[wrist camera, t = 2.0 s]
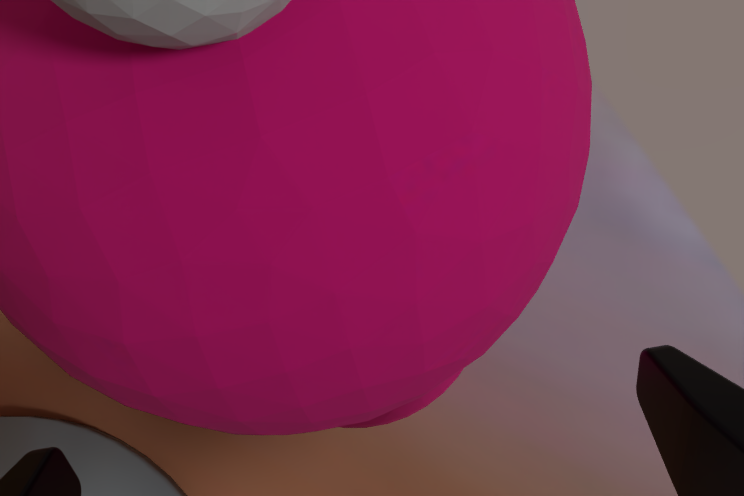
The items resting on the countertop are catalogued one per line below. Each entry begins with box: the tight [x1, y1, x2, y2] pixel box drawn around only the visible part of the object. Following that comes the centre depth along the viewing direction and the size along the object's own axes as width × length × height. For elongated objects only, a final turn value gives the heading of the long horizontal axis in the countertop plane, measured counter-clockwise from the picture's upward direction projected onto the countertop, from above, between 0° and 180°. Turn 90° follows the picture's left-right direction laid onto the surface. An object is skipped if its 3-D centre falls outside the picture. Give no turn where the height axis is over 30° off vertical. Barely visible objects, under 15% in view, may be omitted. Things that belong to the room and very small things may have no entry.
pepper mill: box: [0, 0, 592, 435], centre depth 12 cm, size 7×7×20 cm
